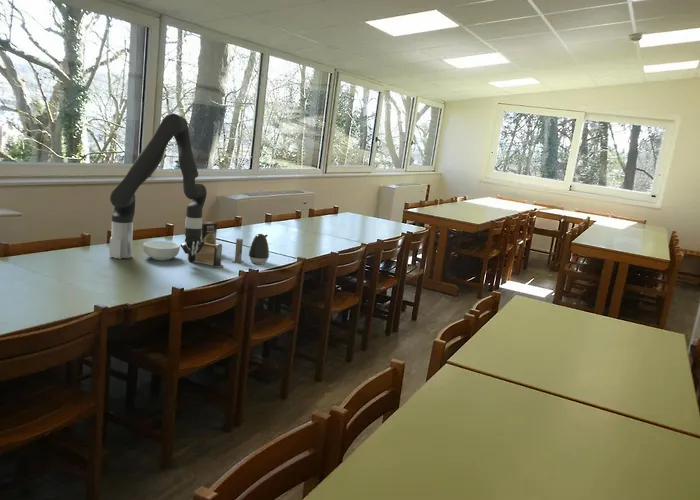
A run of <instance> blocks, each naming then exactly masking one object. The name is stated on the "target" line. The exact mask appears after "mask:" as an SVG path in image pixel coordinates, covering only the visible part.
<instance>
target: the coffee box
mask: <svg viewBox="0 0 700 500" xmlns="http://www.w3.org/2000/svg"><path fill="white" fill-rule="evenodd" d="M217 228H218V223H217V222H214V221H202V234H201V237H200V238H201V241H202V242H204V243H209V244H214V245H216V244H217V232H218V231H217V230H218V229H217Z"/></svg>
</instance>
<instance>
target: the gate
mask: <svg viewBox="0 0 700 500" xmlns="http://www.w3.org/2000/svg"><path fill="white" fill-rule="evenodd" d="M197 250H198V249H197ZM215 255H216V245H214V244H209V243H204V245H203V247H202V248H201V250H200V251H199V253H196V255H195V261H194V262H195V263H201V264H206V265H211V266H212V265H215ZM188 258H189V255H188V254H187V259H188Z"/></svg>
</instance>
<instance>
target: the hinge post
mask: <svg viewBox="0 0 700 500" xmlns="http://www.w3.org/2000/svg"><path fill="white" fill-rule="evenodd" d="M222 253H223V244H222V243H216V255H215V265H211V266H212V268H216V269H221V268H224V264H222Z"/></svg>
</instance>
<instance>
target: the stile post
mask: <svg viewBox="0 0 700 500" xmlns="http://www.w3.org/2000/svg"><path fill="white" fill-rule="evenodd" d="M243 243H244V238H240V237H239V238H236V242H235V253H234V254H235V255H234V259H233V260H232V261H231V263H234V264H238V265H240V264H242V263H244V262H245V260H242V255H243Z"/></svg>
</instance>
